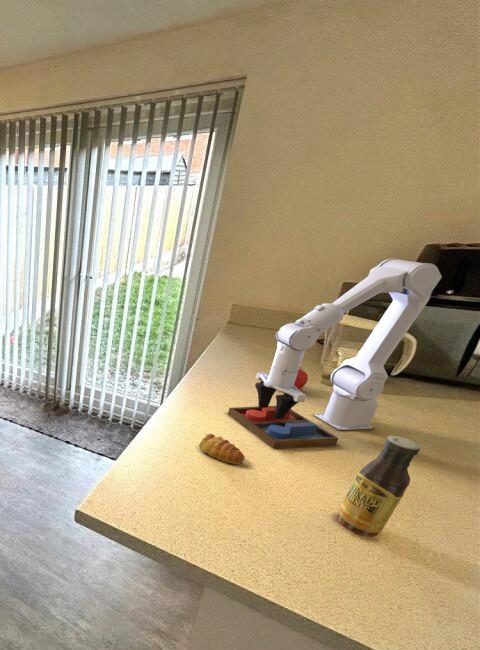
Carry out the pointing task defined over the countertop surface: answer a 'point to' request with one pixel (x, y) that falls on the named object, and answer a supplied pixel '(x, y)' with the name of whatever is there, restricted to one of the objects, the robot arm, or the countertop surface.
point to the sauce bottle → (378, 488)
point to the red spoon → (264, 414)
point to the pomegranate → (300, 379)
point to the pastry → (221, 449)
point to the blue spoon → (292, 430)
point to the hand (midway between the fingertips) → (270, 412)
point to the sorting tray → (261, 428)
